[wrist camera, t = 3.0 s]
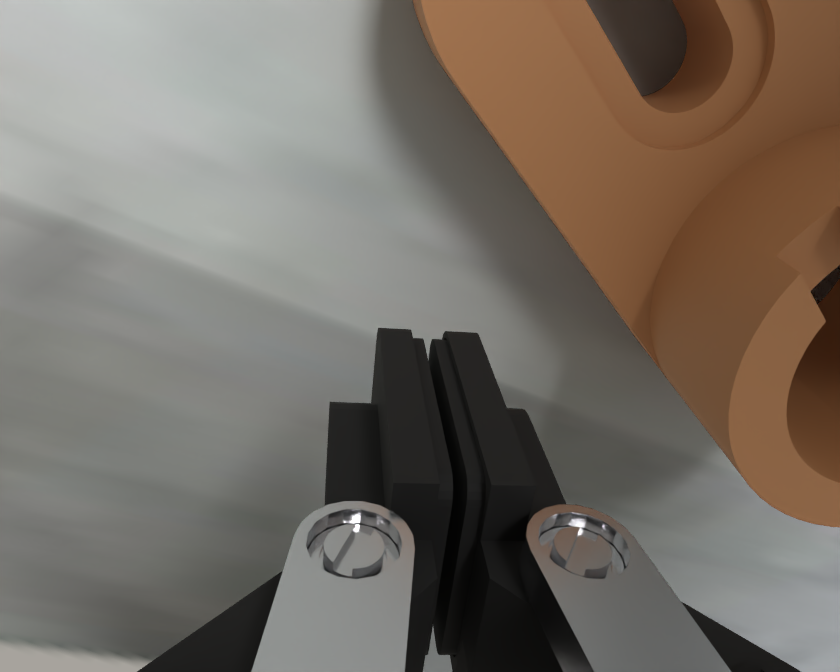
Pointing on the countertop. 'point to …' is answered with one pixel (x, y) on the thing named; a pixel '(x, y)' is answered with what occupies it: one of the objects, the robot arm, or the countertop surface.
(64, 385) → the countertop surface
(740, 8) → the bracket
